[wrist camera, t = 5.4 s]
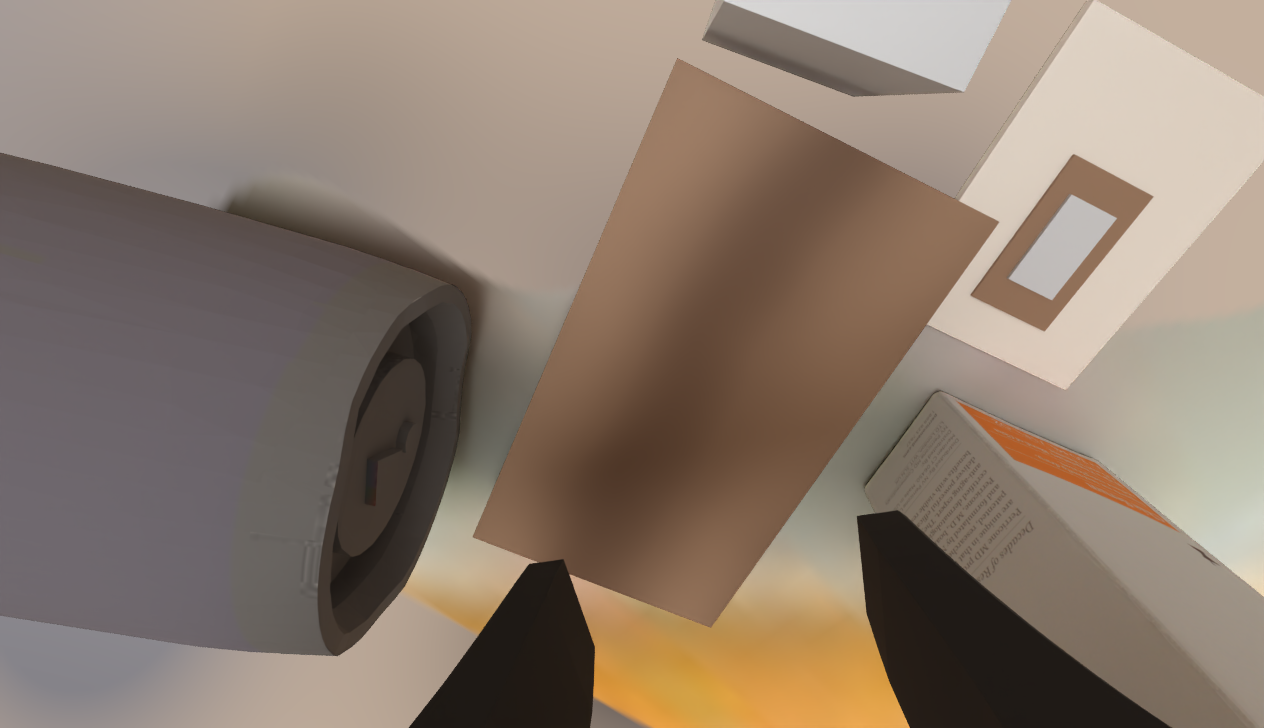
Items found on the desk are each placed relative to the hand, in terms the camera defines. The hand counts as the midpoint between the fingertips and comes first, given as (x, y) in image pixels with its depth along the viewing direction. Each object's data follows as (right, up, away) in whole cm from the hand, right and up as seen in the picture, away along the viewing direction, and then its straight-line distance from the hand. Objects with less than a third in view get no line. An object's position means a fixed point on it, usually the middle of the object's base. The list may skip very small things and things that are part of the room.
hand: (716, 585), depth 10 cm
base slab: (+1, +4, +8) cm, 9 cm away
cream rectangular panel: (+10, +7, +6) cm, 14 cm away
